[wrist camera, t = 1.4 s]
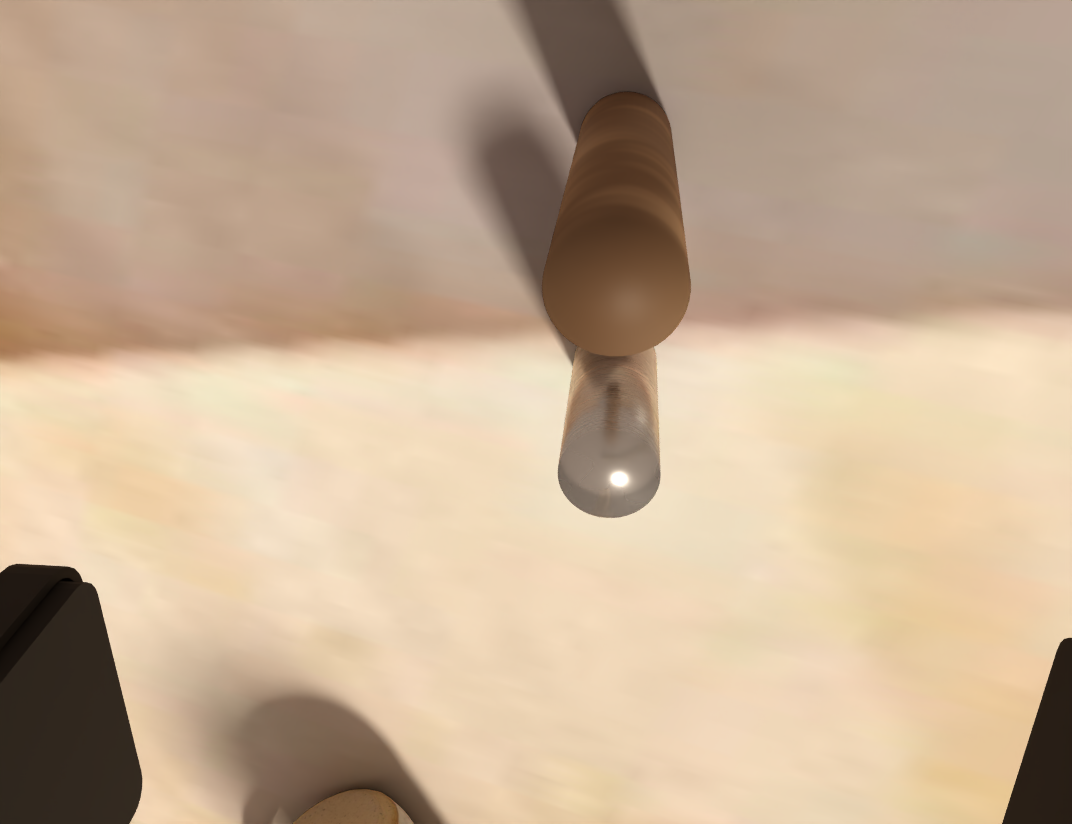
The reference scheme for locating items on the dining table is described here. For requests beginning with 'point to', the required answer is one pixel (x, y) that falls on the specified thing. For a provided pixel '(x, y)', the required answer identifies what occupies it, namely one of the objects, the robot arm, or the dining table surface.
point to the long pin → (619, 233)
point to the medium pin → (611, 434)
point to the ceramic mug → (356, 809)
